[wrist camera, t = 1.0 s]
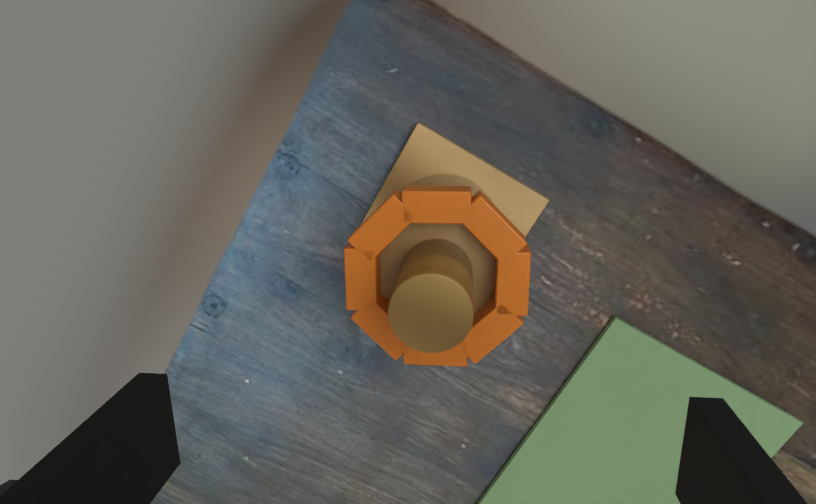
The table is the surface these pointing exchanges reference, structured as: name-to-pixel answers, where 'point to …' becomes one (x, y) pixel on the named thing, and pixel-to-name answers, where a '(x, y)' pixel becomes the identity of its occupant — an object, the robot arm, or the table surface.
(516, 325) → the ring
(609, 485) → the mat
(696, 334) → the table surface
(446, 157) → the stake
